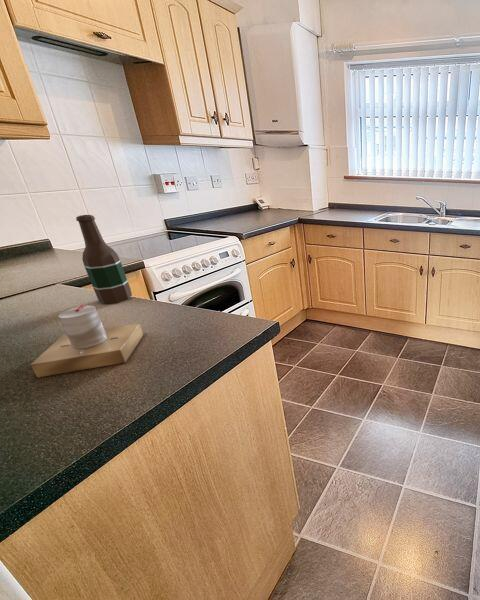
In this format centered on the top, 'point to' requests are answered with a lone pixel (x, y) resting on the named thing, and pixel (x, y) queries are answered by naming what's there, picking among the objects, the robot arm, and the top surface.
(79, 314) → the white short cylinder
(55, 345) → the wooden board
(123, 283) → the beer bottle
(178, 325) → the top surface
